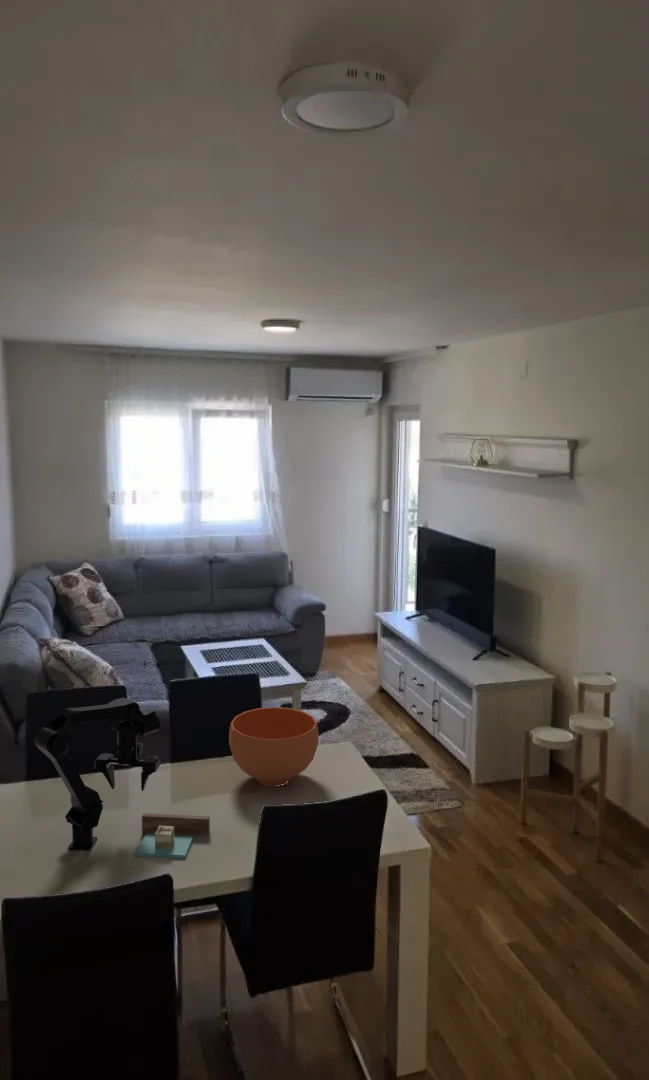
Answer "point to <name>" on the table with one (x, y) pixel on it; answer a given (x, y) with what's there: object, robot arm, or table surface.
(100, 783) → the table surface
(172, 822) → the brown wooden plank
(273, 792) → the table surface
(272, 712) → the bowl
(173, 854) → the display plate
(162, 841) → the maple cube
